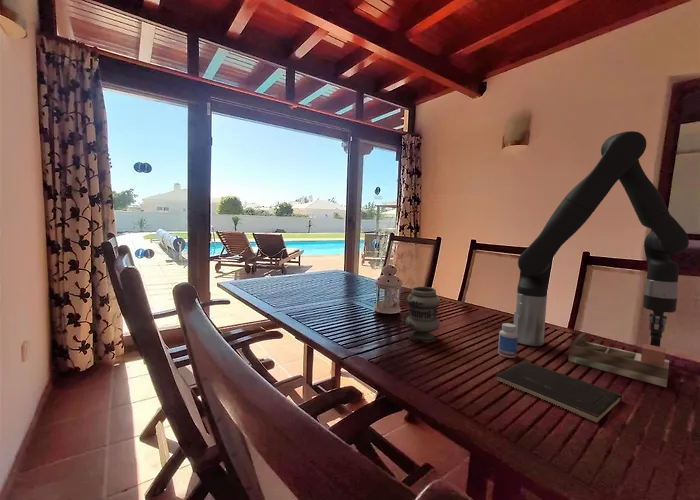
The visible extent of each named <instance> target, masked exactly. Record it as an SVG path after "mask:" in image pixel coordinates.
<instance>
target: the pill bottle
mask: <svg viewBox="0 0 700 500" xmlns="http://www.w3.org/2000/svg"><path fill="white" fill-rule="evenodd" d="M515 331H516V325H514V323H508V322H506V323H502V324H501V330H500V331H499V332H498V347H497V349H498V350H497V353H498V355H499V356H501V357H504V358H508V359H509V358H511V359H513V358H516V357H517V354H518V344H519V343H518V334H517V333H516V332H515Z"/></svg>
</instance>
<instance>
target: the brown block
mask: <svg viewBox="0 0 700 500" xmlns="http://www.w3.org/2000/svg"><path fill="white" fill-rule="evenodd" d="M666 349H667V348H666V347H661V346H660V347H658V346H653V345H650V344H647V343H643V344H642V346H641V353H640V354H641V361H644V362H648V363H652V364H656V365H661V366H664V361H665V360H666V359H665V358H666Z"/></svg>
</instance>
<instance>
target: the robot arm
mask: <svg viewBox="0 0 700 500" xmlns="http://www.w3.org/2000/svg"><path fill="white" fill-rule="evenodd" d="M646 148H647V139H646V136H644V134H643V133H641V132H639V131H634V130H633V131H632V130H630V131H623V132H619V133H616V134H613V135H611V136H609V137H608V138H606V139H605V140H604V142H603V143H602V145H601V148H600V155H601V158H600V159H599V161H598V162H597V164H596V165H595V166H594V168H593V169H592V170H591V171H590V172H589V173H588V174H587V175H586V176H585V177H584V178H583V179H582V180H581V181H579V182H578V183H577V184H576V185H575V186H573V188H572V189H571V190H570V191H569V192H568V193H567V194H566V196H565V197H564V198H563V199H562V200H561V202H560V203H559V204H558V206H557V207H556V209H555V210H554V212H553V213H552V215H550V217H549V219H548V221H547V222H546V223H545V226H544V227H543V229H542V231H541V232H540V233H539V234H538V236H537V237H536V238H535V239H534V240H533V242H532V243H531V244H530V245H529V246H528V247H527V248H525V250H524V251H523V252H521V253H520V255H519V256H518V258H517V259H518V260H517V267H518V269H519V279H518V284H517V290H516V293H517V294H516V305H515V311H514V313H513V324H514V325H516V331H515V332H516V333H517V334H518V343H517V344H522V345H526V346H531V347H540V346H543V345H544V341H545V326H546V325H545V324H546V314H547V312H546V311H547V301H548V289H549V285H550V284H549V283H550V273H551V271H550V270H551V262H552V260H553V258H554V257H555V256H556V254H557V252H558V251H559V250H560V248H561V247H562V246H563V245H564V244H565V243H566V242H567V241H568V240H570V238H571V237H573V236H574V235H575V234H576V233H577V232H578V231H579V229H581V227H583V225H584V224H585V223H586V222H587V221H588V220H589V219H590V218H591V216H592V214H593V213H594V212H595V211H596V209H597V208H598V207H599V206H600V204H601V203H602V202H603V200H604V199H605V198H606V196H607V195H608V193H610V191H611V190H612V188H613V187H614V185H615V184H617V182H618V181H619V182H620V183H621V185H622V187H623V189H624V191H625V193H626V194H627V197H628V198H629V202H630V204H631V206H632V208H633V210H634V212H635V215H636V216H637V218H638V220H639V222H640V224H641V225H642V226H643V227H645V228H648V229H650V230H652V231H650V232H648V234H647V235H646V236H645V238H644V241H643V243H644V244H643V248H644V253H645V258H646V262H647V271H646V281H645V283H644V284H645V285H644V292H643V302H642V306H643V307H642V308H644V309H645V310H649V311H652V312H653V313H649V315H648V316H649V317H648V321H649V328H648V329H649V331H650V333H649V336H650V343H649V345H653V346H658V347H661V340H662V338H663V333H664V332H665V327H666V323H667V320H668V315H664V313H669V314H670V313H675V312H676V311H677V303H678V294H679V283H678V281H679V275H680V266H679V264H678V263H677V262H675V261H673V260H672V259H671V256H670V255H677V254H681V253H683V252H685V251H686V250H687V248H688V247H689V244H690V239H689V236H688V233H687V232H686V230H685V229H684V228H683V227H682V226H681V224H680V223H679V222H678V221H677V219H675V218H674V217H673V216H672V215H671V213H670V210H669V209H668V207H667V204H666V202H665V200H664V199H663V197H662V196H663V195H662V194H661V193H660V191H659V190H658V189H657V187H656V186H655V185H654V183H653V182H652V181H651V180H650V178H648V176H647V174H646V173H645V171H644V169H643V168H642V166H641V163H640V160H639V159H641V157H642V156H643V155H644V154H645V151H646Z"/></svg>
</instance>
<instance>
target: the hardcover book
mask: <svg viewBox="0 0 700 500" xmlns="http://www.w3.org/2000/svg"><path fill="white" fill-rule="evenodd" d="M494 375H495V376H496V381H497V380H498V381H497V382H499V381H500V383H501V382H503V383H502V384H504V383H505V384H504V385H506V384H508V385H507V386H509V385H510V386H509V387H511V386H512V387H511V388H513V387H514V388H513V389H516V388H517V390H518V389H519V390H518V391H520V390H522V391H521V392H523V391H524V392H523V393H525V392H527V393H530V394H532V395H534V396H533V397H535V396H537V397H539V398H541V399H540V400H542V399H543V400H542V401H544V400H546V401H548V402H547V403H549V402H551V403H553V404H552V405H554V404H555V405H554V406H556V405H557V406H556V407H558V406H560V407H559V408H561V407H562V408H561V409H563V408H564V409H563V410H565V409H567V410H566V411H568V410H569V411H568V412H570V411H571V412H570V413H572V412H573V414H575V413H576V414H575V415H577V414H578V415H577V416H580V417H583V418H584V419H587V420H590V421H592V422H594V423H598V422H599V421H600V420H601V419H603V417H605V415H607V414H608V412H610V411H611V410H612V409H613V408H614V407H615V406H616V405H618V404H619V402H622V401H623V399H622V398H623V396H622V394H621V393H618V392H615V391H612V390H609V389H607V388H605V387H604V388H603V387H601V386H599V385H595V384H593V383H590V382H587V381H584V380H581V379H578V378H575V377H573V376H569V375H567V374H563V373H561V372H557V371H555V370H552V369H549V368H547V367H544V366H540V365H537V364H534V363H532V362H530V361H527V360H523V361H521V362H518V363H517V364H515V365H513V366H510V367H508V368H506V369H504V370H502V371H499V372H497V373H496V374H494ZM527 393H526V394H527ZM530 394H529V395H530ZM532 395H531V396H532ZM537 397H536V398H537ZM539 398H538V399H539ZM546 401H545V402H546ZM551 403H550V404H551Z"/></svg>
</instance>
